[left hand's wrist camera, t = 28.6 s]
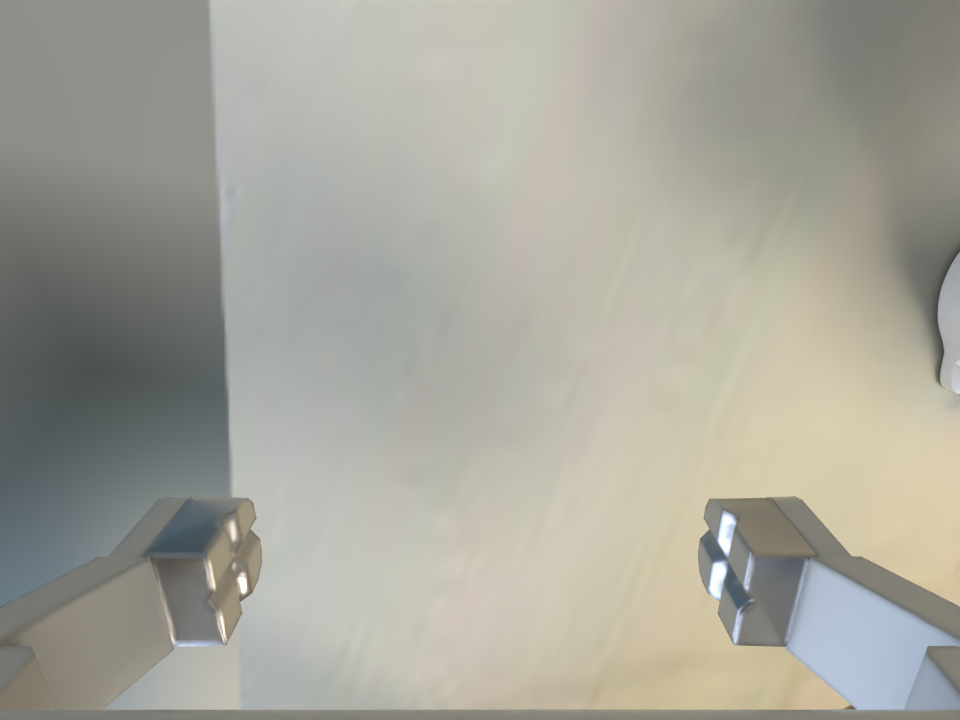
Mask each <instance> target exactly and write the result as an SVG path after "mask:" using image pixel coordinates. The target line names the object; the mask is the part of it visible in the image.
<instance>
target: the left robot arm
mask: <svg viewBox="0 0 960 720" xmlns="http://www.w3.org/2000/svg"><path fill="white" fill-rule="evenodd" d="M938 325H939V330H940V334H941V338H942V341H943V345H944V357H943V361H942V366H941V372H940V382H941V385H942V386H943V387H944V388H945V389H947V390H950V391H952V392H955V393H957V394H960V252H959V253H958V254H957V256H956V258H955V259H954V261H953V262H952V264H951V266H950V268H949V270H948V272H947V274H946V277H945V279H944V282H943V285H942V288H941V291H940V296H939V301H938ZM255 520H256V514H255V509H254V504H253V502H252V501H251V500H250V499H249V498H222V497H193V498H192V497H164V498H161V499H159V500H158V501H157V502H156V503H155V504H154V505H153V506H152V507H151V508H150V510H149V511H148V512H147V513H146V514H145V515H144V516H143V518H142V519H141V520H140V521H139V522H138V523H137V524H136V525H135V527H134V528H133V529H132V530H131V531H130V532H129V533H128V534H127V536H126V537H125V538H124V539H123V540H122V541H121V542H120V544H119V545H118V546H117V547H116V548H115V549H114V550H113V551H112V553H111V554H110V555H109V556H108V557H97V558H95V559H93V560H91V561H89V562H87V563H85V564H83V565H81V566H79V567H77V568H75V569H73V570H71V571H69V572H67V573H65V574H64V575H62V576H60V577H58V578H56V579H54V580H52V581H50V582H48V583H46V584H44V585H42V586H40V587H38V588H36V589H34V590H32V591H30V592H28V593H26V594H24V595H22V596H20V597H18V598H16V599H14V600H12V601H10V602H8V603H6V604H4V605H2V606H0V720H960V607H959V606H957V605H955V604H954V603H952V602H950V601H948V600H946V599H944V598H942V597H940V596H938V595H936V594H934V593H932V592H930V591H928V590H926V589H924V588H922V587H920V586H918V585H916V584H914V583H912V582H910V581H908V580H906V579H904V578H902V577H900V576H898V575H896V574H894V573H892V572H891V571H889V570H887V569H885V568H883V567H881V566H879V565H877V564H875V563H873V562H871V561H869V560H867V559H865V558H863V557H852V556H851V555H850V554H849V553H848V552H847V550H846V549H845V548H844V547H843V546H842V545H841V544H840V542H839V541H838V540H837V539H836V538H835V537H834V536H833V535H832V533H831V532H830V531H829V530H828V529H827V528H826V527H825V525H824V524H823V523H822V522H821V521H820V520H819V519H818V517H817V516H816V515H815V514H814V513H813V512H812V511H811V510H810V508H809V507H808V506H807V505H806V504H805V503H804V502H803V500H801V499H799V498H797V497H795V496H792V497H766V498H729V499H709V501H708V503H707V505H706V508H705V513H704V520H705V522H706V523H707V525H708V527H709V530H708V531H707V532H706V533H705V534H704V535H703V536H702V537H701V538H700V543H699V550H698V561H699V571H700V575H701V578H702V582H703V584H704V586H705V588H706V590H707V592H708V594H710V595H711V596H712V597H714V598H715V599H717V600H718V601H719V602H720V604H719V610H718V615H719V617H720V619H721V621H722V623H723V625H724V627H725V629H726V631H727V633H728V635H729V637H730V639H731V641H732V643H733V645H746V646H781V647H786V650H788V651H789V652H790V653H791V654H792V655H794V656H795V657H796V658H797V659H798V660H799V661H801V662H802V663H803V664H804V665H805V666H806V667H808V668H809V669H810V670H811V671H812V672H814V673H815V674H816V675H817V676H818V677H819V678H821V679H822V680H823V681H824V682H825V683H827V684H828V685H829V686H830V687H831V688H832V689H834V690H835V691H836V692H837V693H838V694H840V695H841V696H842V697H843V698H844V699H845V700H847V701H848V702H849V703H850V704H851V705H852V706H854V707H855V708H856V709H857V710H103V709H104V708H105V707H106V706H108V705H109V704H110V703H111V702H112V701H113V700H115V699H116V698H117V697H118V696H119V695H121V694H122V693H123V692H124V691H125V690H127V689H128V688H129V687H130V686H131V685H132V684H134V683H135V682H136V681H137V680H138V679H140V678H141V677H142V676H143V675H144V674H145V673H147V672H148V671H149V670H150V669H151V668H153V667H154V666H155V665H156V664H157V663H158V662H160V661H161V660H162V659H163V658H164V657H165V656H167V655H168V654H169V653H170V652H171V651H173V650H174V647H179V646H213V645H227V643H228V641H229V639H230V637H231V635H232V633H233V631H234V629H235V627H236V625H237V623H238V621H239V619H240V617H241V615H242V610H241V604H240V602H241V601H242V600H243V599H245V598H246V597H248V596H249V595H250V594H252V592H253V590H254V588H255V586H256V584H257V582H258V578H259V574H260V569H261V565H262V549H261V542H260V538H259V537H258V536H257V535H256V534H255V533H254V532H253V531H252V530H251V527H252V525H253V523H254V522H255Z"/></svg>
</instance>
